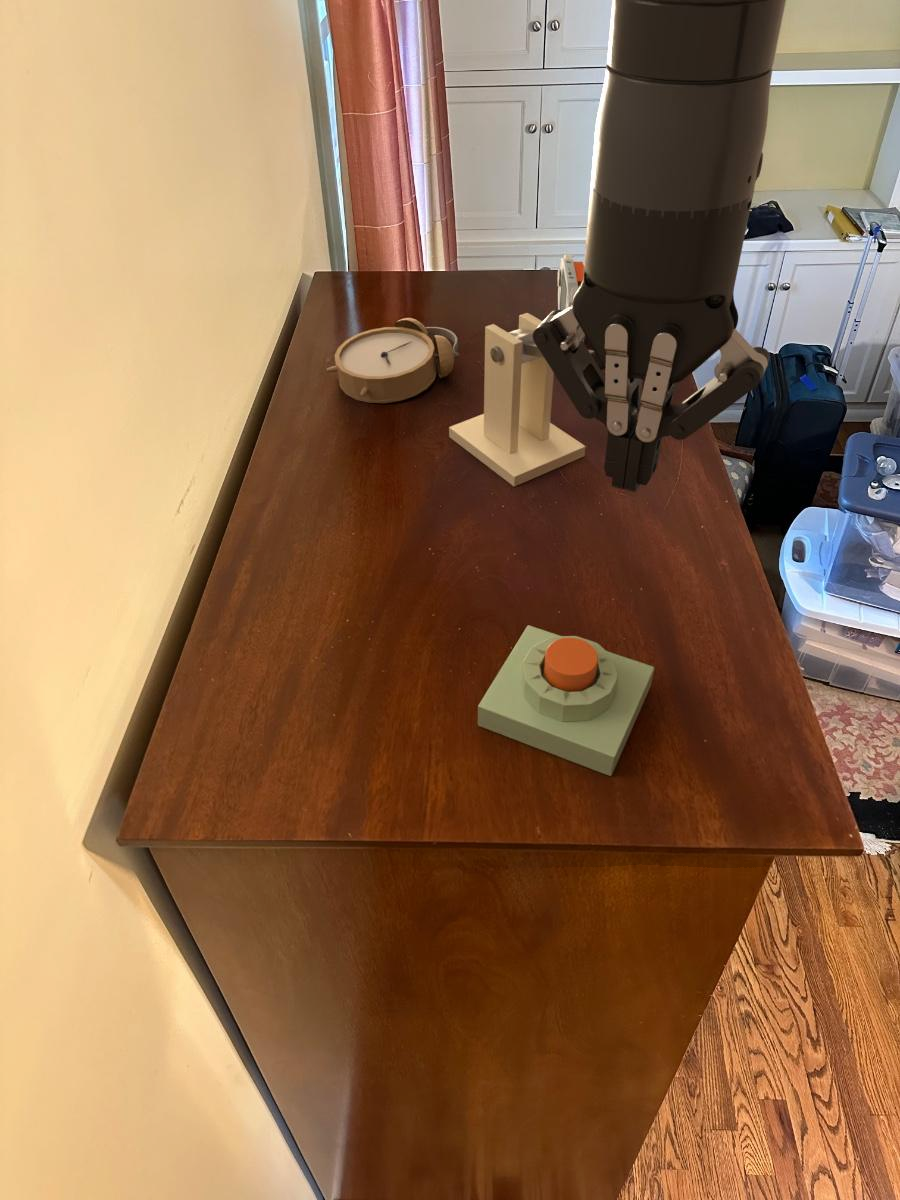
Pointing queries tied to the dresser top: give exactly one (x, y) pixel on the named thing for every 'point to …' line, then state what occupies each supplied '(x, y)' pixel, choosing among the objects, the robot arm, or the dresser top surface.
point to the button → (570, 664)
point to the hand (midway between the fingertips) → (628, 482)
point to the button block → (566, 704)
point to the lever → (531, 349)
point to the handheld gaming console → (569, 281)
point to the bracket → (516, 413)
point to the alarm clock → (394, 361)
